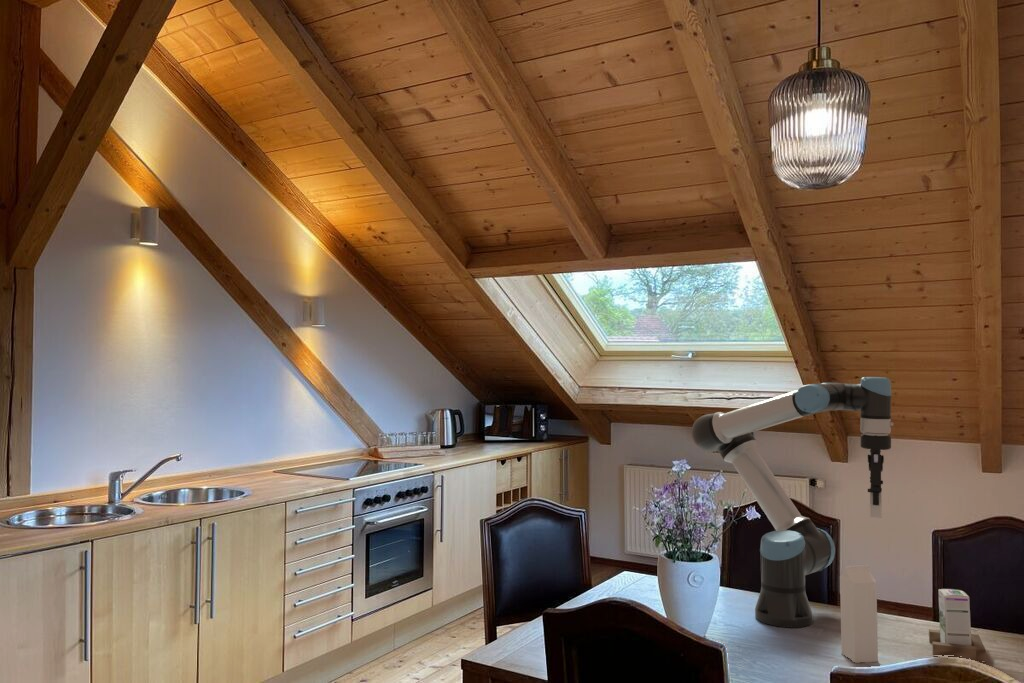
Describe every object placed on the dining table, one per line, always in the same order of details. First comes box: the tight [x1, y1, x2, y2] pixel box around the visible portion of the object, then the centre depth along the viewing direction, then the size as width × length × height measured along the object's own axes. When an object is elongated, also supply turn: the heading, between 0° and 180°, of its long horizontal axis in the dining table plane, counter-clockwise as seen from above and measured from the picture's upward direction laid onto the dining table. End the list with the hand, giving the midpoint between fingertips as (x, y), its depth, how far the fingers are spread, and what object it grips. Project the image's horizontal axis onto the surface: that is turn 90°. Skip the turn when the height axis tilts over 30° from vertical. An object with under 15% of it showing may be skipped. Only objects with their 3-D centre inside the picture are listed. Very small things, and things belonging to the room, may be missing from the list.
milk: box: [839, 564, 879, 664], centre depth 189 cm, size 6×6×22 cm
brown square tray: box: [928, 628, 987, 664], centre depth 193 cm, size 11×12×3 cm
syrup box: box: [938, 588, 972, 646], centre depth 193 cm, size 6×6×14 cm
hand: (875, 512), depth 213 cm, fingers open, 13 cm apart
